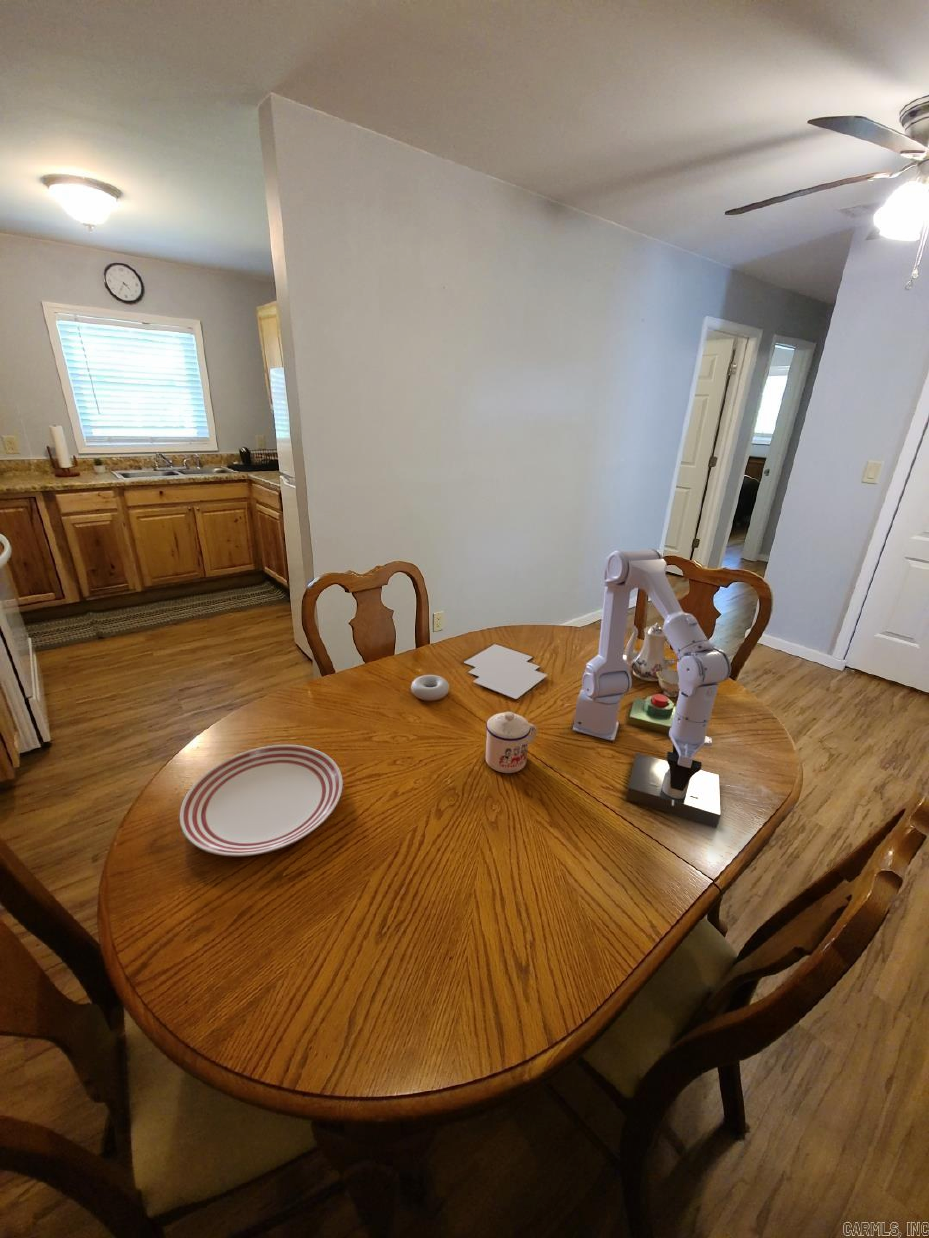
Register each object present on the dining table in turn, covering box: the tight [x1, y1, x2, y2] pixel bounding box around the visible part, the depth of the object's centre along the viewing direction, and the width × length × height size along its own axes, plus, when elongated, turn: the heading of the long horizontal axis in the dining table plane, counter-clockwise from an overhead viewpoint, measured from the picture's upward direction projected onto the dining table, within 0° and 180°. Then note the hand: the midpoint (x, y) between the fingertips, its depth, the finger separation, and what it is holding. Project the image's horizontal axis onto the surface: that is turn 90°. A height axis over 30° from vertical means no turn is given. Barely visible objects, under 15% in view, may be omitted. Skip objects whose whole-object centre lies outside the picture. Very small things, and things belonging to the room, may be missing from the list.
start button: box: [652, 693, 669, 707], centre depth 122 cm, size 4×4×2 cm
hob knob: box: [662, 768, 690, 799], centre depth 94 cm, size 4×4×4 cm
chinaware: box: [595, 622, 680, 698], centre depth 139 cm, size 28×17×17 cm, turn 55°
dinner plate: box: [179, 744, 344, 857], centre depth 91 cm, size 27×27×3 cm
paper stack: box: [463, 643, 548, 700], centre depth 143 cm, size 23×25×1 cm
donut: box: [410, 674, 450, 702], centre depth 130 cm, size 10×4×10 cm
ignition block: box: [627, 694, 676, 735], centre depth 122 cm, size 12×10×4 cm
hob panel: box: [625, 752, 722, 829], centre depth 97 cm, size 16×13×3 cm
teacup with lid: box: [485, 711, 538, 774], centre depth 104 cm, size 12×9×12 cm
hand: (677, 775), depth 93 cm, fingers open, 7 cm apart
